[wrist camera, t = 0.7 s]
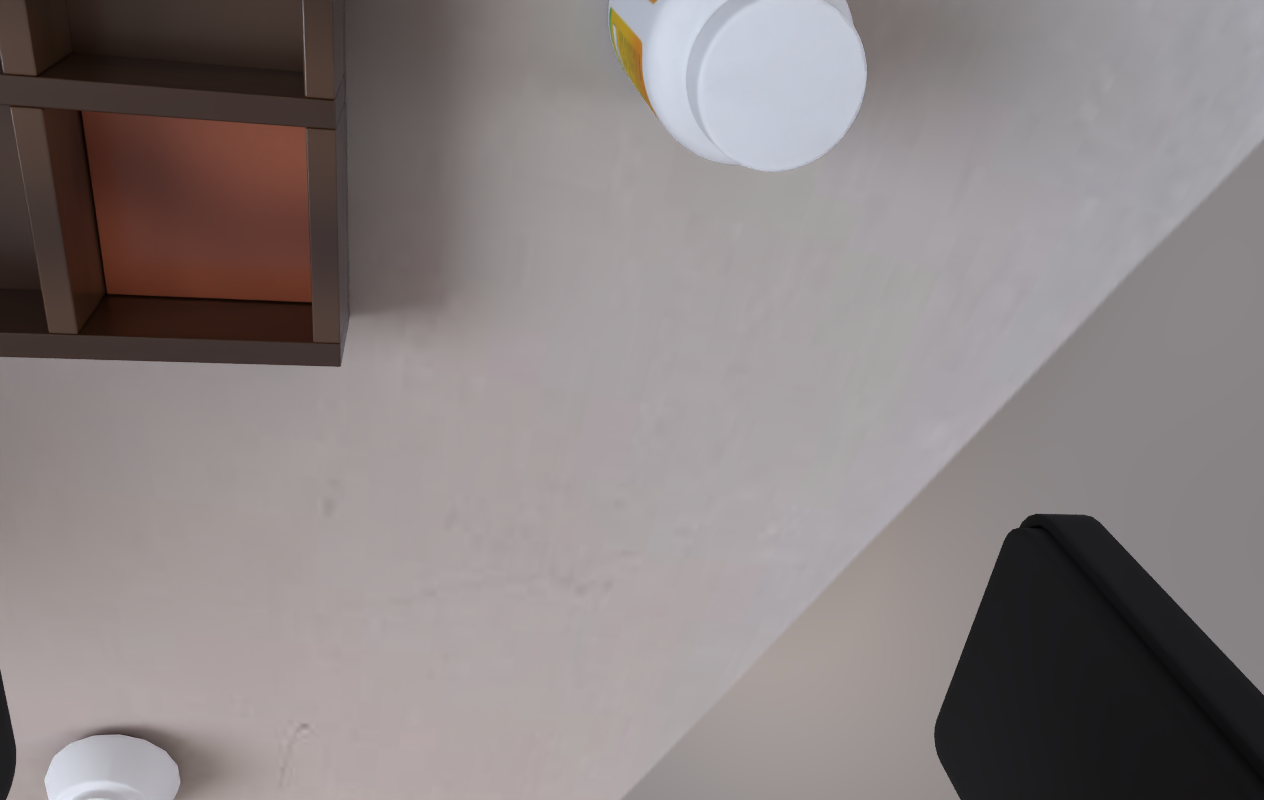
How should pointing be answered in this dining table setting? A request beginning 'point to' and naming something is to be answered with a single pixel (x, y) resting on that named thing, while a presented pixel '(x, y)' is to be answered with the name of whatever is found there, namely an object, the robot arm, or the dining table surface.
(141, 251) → the wooden compartment tray
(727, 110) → the supplement bottle
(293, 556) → the dining table surface
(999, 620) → the robot arm
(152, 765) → the lidless jar
